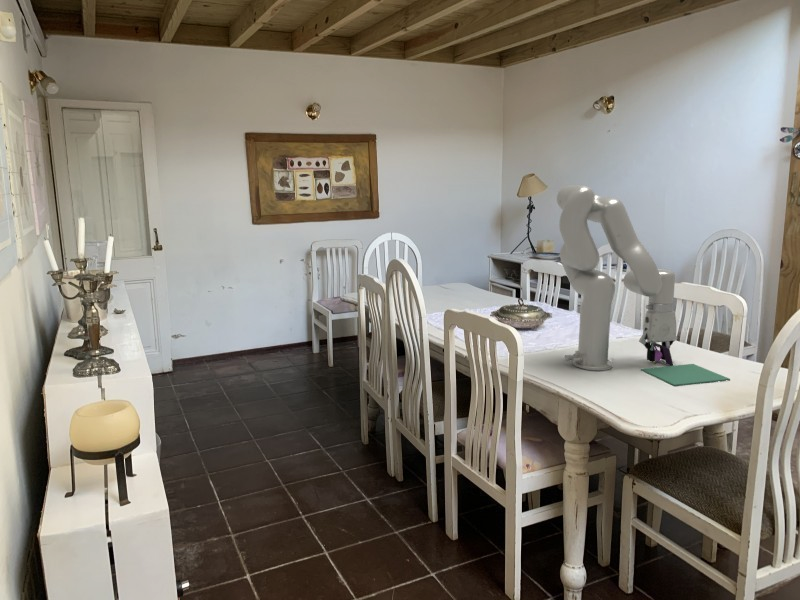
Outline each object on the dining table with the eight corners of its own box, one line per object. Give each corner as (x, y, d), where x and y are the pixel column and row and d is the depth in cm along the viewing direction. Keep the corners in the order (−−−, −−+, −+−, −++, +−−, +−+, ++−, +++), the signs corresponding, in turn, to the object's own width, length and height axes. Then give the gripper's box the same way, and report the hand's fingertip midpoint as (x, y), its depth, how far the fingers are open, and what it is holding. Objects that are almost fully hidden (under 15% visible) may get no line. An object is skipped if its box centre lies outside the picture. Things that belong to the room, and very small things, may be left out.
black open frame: (671, 347, 196) (654, 340, 205) (657, 353, 196) (641, 346, 204) (675, 365, 198) (658, 357, 207) (662, 371, 197) (645, 363, 206)
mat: (674, 386, 179) (674, 384, 179) (640, 370, 195) (640, 368, 194) (730, 380, 184) (730, 378, 184) (692, 365, 199) (693, 363, 199)
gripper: (645, 311, 193) (642, 365, 197) (690, 307, 197) (686, 361, 201) (631, 306, 201) (628, 359, 204) (674, 303, 205) (670, 354, 208)
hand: (657, 359), depth 203 cm, fingers closed on black open frame, 4 cm apart
